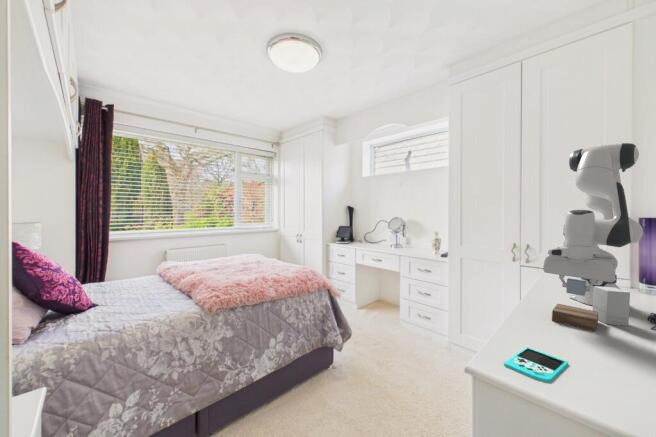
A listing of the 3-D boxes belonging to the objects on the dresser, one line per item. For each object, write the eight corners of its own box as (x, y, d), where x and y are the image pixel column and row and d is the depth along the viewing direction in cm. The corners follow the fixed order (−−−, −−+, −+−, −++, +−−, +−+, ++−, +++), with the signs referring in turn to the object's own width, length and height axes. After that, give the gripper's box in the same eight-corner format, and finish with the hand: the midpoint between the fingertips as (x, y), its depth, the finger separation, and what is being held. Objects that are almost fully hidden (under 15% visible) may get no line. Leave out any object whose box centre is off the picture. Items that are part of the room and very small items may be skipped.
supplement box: (629, 326, 102) (631, 292, 101) (605, 324, 103) (607, 290, 103) (613, 318, 109) (615, 287, 109) (591, 316, 111) (592, 285, 110)
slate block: (568, 290, 108) (568, 277, 108) (585, 293, 105) (586, 280, 104) (566, 292, 105) (566, 279, 105) (584, 296, 101) (584, 282, 101)
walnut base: (557, 313, 114) (557, 303, 114) (597, 322, 105) (598, 311, 105) (551, 320, 106) (552, 310, 106) (595, 331, 97) (596, 320, 97)
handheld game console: (502, 366, 75) (502, 361, 75) (526, 350, 84) (526, 345, 84) (547, 386, 67) (547, 381, 66) (568, 365, 76) (568, 360, 76)
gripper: (618, 255, 99) (615, 294, 99) (546, 248, 114) (544, 282, 114) (617, 257, 95) (615, 297, 95) (543, 249, 110) (541, 284, 110)
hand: (576, 289), depth 105 cm, fingers closed on slate block, 5 cm apart
